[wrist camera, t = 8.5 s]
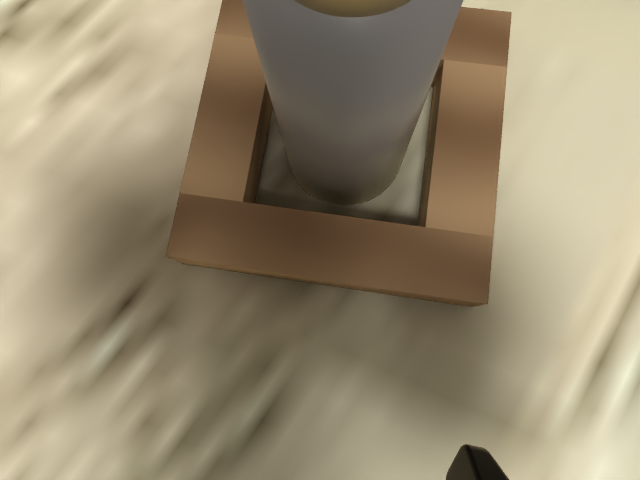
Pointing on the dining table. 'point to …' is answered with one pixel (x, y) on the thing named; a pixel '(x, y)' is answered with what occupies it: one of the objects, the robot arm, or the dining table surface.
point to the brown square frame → (336, 230)
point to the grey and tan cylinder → (348, 85)
